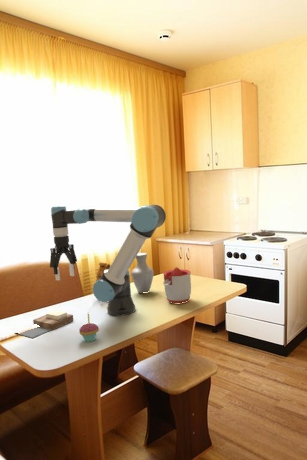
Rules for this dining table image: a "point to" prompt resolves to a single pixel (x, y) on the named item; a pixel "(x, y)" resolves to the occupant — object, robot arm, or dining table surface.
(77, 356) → the dining table surface
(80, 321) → the dining table surface
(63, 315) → the tile
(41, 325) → the board
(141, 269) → the vase
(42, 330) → the mat
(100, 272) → the coffee package
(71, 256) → the robot arm
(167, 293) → the citrus juicer
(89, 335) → the cupcake
